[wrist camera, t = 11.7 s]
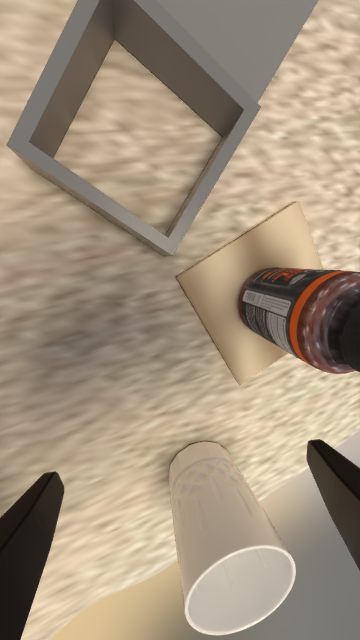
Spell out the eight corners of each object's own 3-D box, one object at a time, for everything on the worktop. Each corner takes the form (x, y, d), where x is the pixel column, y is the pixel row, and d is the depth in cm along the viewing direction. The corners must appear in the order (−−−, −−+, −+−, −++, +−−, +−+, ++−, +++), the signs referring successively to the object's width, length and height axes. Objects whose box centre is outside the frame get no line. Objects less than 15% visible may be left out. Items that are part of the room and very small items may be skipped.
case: (164, 256, 19) (172, 255, 16) (31, 168, 16) (6, 145, 13) (320, -7, 17) (366, -71, 14) (202, -168, 14) (225, -300, 11)
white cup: (146, 477, 24) (158, 618, 15) (200, 421, 24) (249, 528, 14) (198, 508, 27) (238, 646, 17) (248, 458, 26) (316, 570, 17)
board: (237, 382, 24) (239, 385, 23) (175, 276, 20) (177, 277, 19) (335, 316, 24) (340, 317, 24) (294, 202, 20) (298, 200, 20)
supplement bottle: (293, 260, 21) (465, 261, 10) (297, 323, 23) (449, 381, 12) (230, 274, 20) (347, 291, 9) (239, 339, 22) (347, 417, 11)
